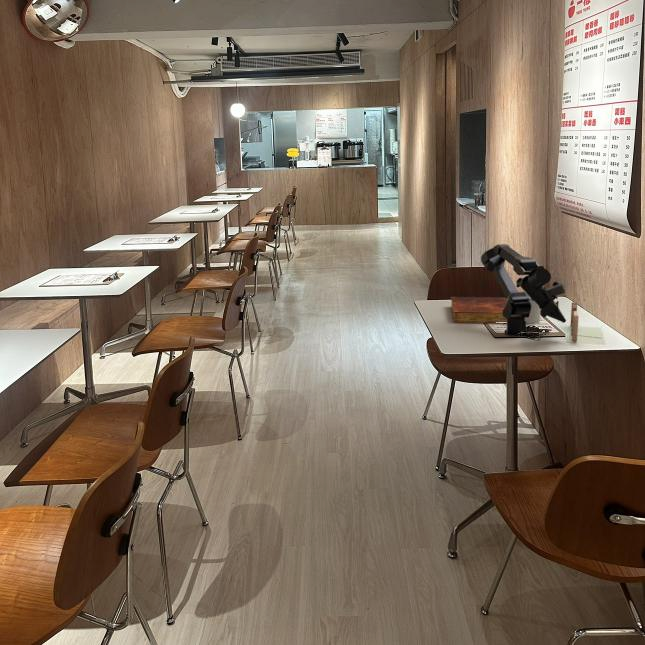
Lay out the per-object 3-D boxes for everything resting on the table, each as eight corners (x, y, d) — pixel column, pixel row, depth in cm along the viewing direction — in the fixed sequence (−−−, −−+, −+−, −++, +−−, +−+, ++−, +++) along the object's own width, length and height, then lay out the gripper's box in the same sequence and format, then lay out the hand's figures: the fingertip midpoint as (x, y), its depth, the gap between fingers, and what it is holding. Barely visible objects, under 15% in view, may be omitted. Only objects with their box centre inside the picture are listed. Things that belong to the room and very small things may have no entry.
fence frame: (571, 335, 299) (572, 310, 297) (570, 325, 313) (571, 301, 311) (576, 335, 298) (578, 310, 296) (575, 326, 313) (577, 302, 311)
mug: (540, 325, 316) (541, 297, 314) (517, 324, 318) (519, 296, 316) (539, 318, 328) (540, 291, 325) (518, 317, 330) (519, 291, 327)
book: (514, 325, 319) (515, 312, 318) (453, 324, 322) (453, 312, 321) (506, 308, 348) (506, 297, 347) (450, 308, 350) (450, 296, 349)
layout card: (565, 342, 290) (565, 341, 290) (564, 326, 314) (564, 325, 313) (605, 345, 287) (605, 344, 286) (601, 328, 310) (601, 327, 310)
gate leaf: (571, 341, 289) (573, 316, 287) (571, 334, 298) (572, 310, 296) (577, 341, 289) (578, 316, 287) (576, 335, 298) (578, 310, 296)
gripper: (551, 280, 280) (583, 312, 280) (552, 271, 298) (582, 301, 297) (527, 301, 284) (558, 333, 284) (529, 291, 302) (558, 321, 301)
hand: (565, 321), depth 291 cm, fingers closed
